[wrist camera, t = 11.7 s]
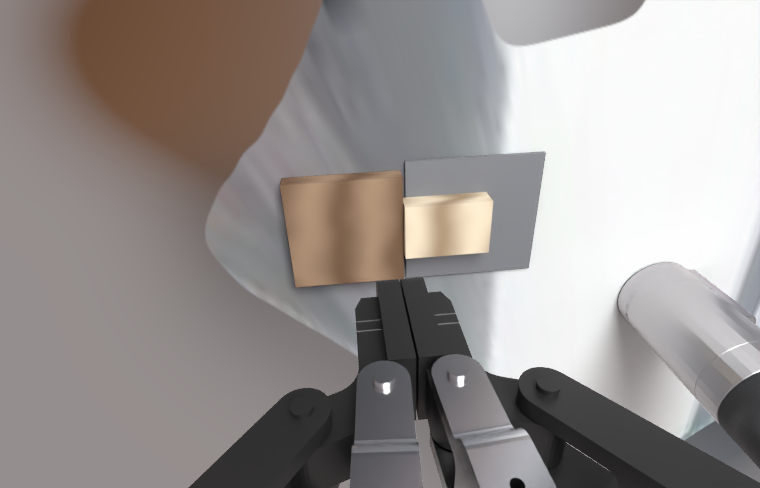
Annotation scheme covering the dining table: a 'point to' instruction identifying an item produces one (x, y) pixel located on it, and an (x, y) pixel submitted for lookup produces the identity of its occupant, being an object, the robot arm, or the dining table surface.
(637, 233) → the dining table surface
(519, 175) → the charcoal mat
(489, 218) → the beech tile
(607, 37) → the dining table surface
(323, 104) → the dining table surface
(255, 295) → the dining table surface
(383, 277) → the block
